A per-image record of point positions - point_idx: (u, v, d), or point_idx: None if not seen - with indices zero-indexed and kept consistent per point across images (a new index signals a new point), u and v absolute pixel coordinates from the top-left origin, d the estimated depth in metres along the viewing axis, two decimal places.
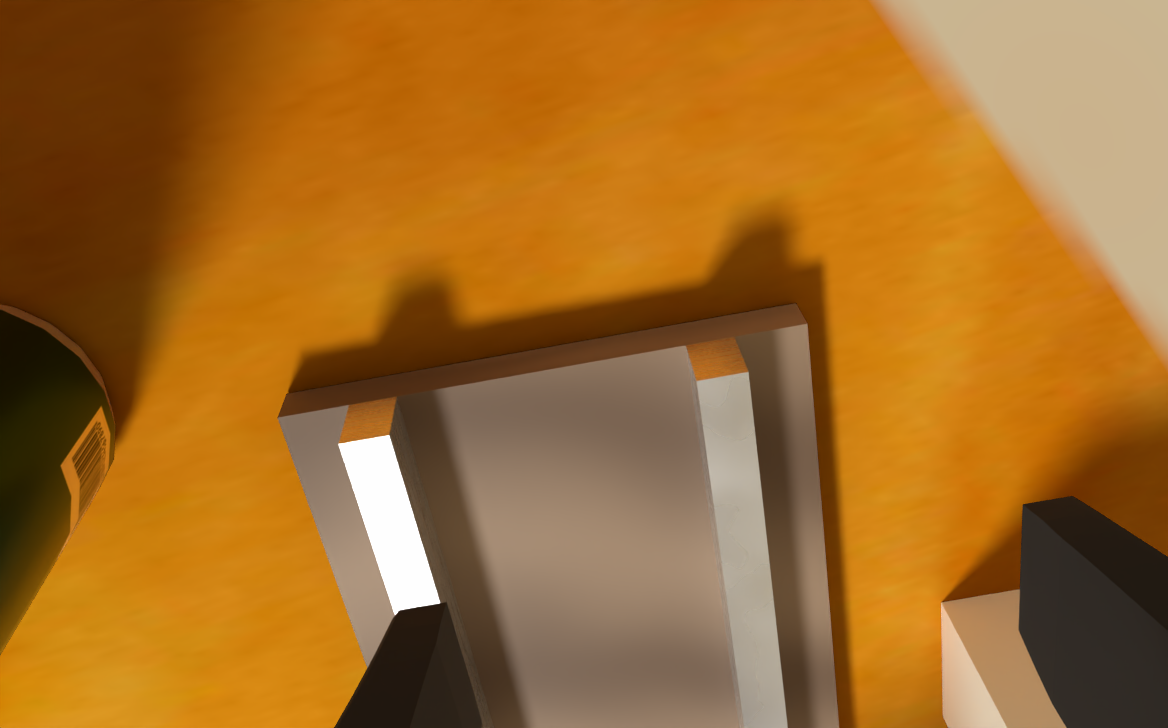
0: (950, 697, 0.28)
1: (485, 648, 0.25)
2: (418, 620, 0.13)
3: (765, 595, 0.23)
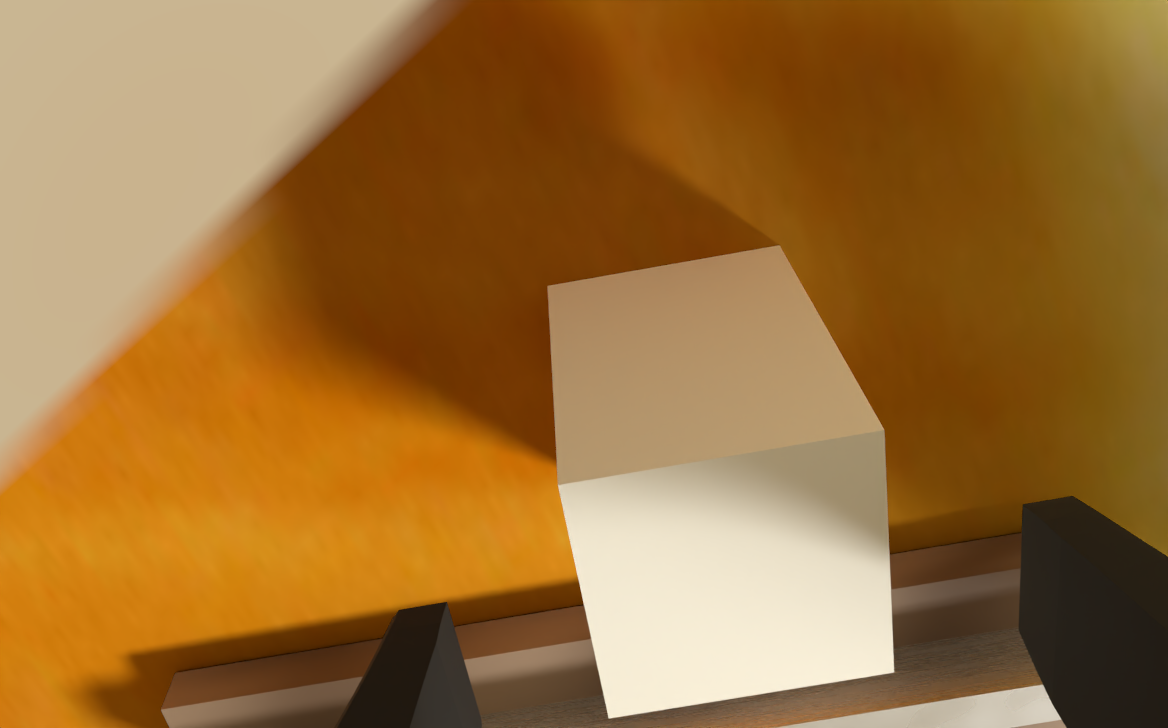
0: None
1: None
2: (419, 620, 0.13)
3: None
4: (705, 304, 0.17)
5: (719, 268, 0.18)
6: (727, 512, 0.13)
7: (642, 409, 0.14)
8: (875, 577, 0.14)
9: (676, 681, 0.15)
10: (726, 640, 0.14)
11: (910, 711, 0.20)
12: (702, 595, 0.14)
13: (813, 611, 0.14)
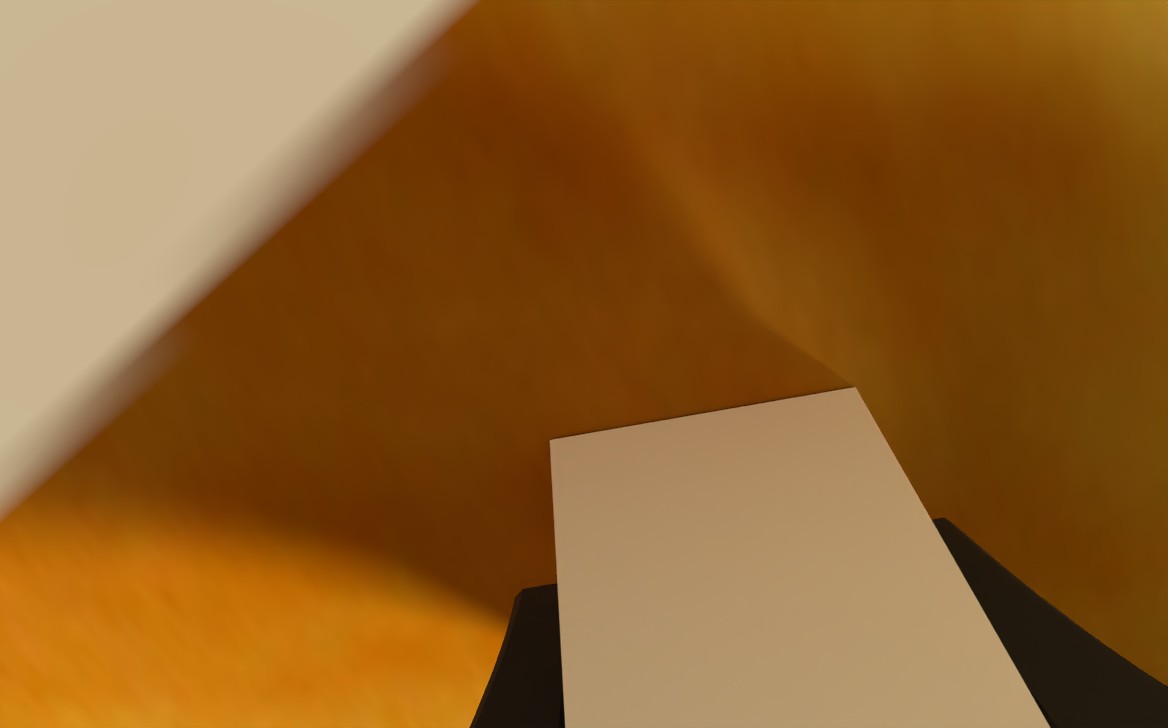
0: None
1: None
2: (546, 598, 0.13)
3: None
4: (765, 485, 0.12)
5: (778, 423, 0.13)
6: None
7: (690, 683, 0.10)
8: None
9: None
10: None
11: None
12: None
13: None
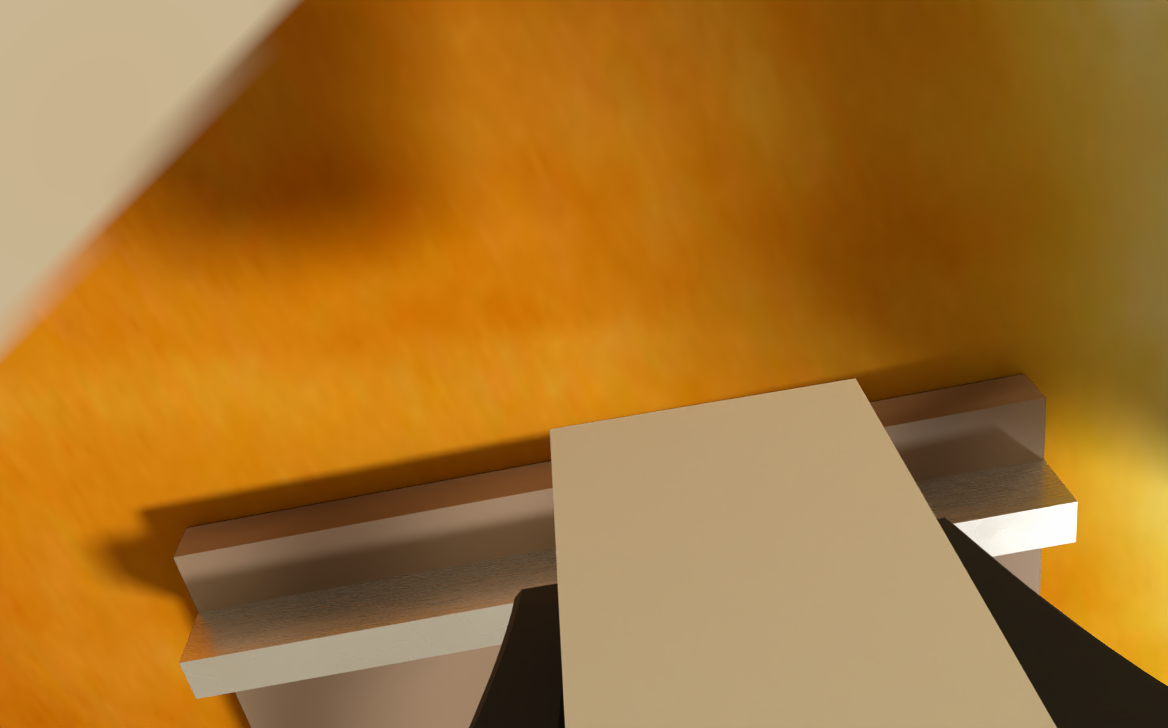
0: None
1: None
2: (546, 598, 0.13)
3: (453, 619, 0.21)
4: (765, 475, 0.12)
5: (778, 413, 0.13)
6: None
7: (690, 669, 0.10)
8: None
9: None
10: None
11: None
12: None
13: None
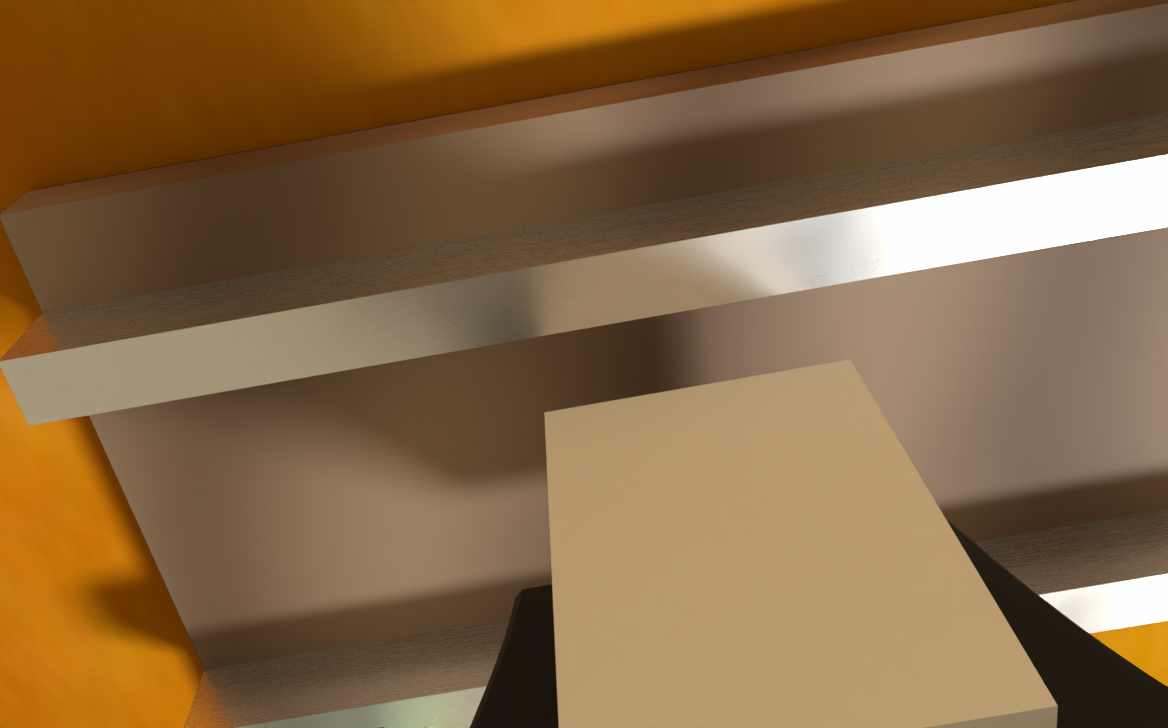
0: None
1: None
2: (547, 599, 0.13)
3: (416, 299, 0.14)
4: (759, 453, 0.12)
5: (772, 394, 0.13)
6: None
7: (683, 641, 0.10)
8: None
9: None
10: None
11: (1080, 179, 0.14)
12: None
13: None
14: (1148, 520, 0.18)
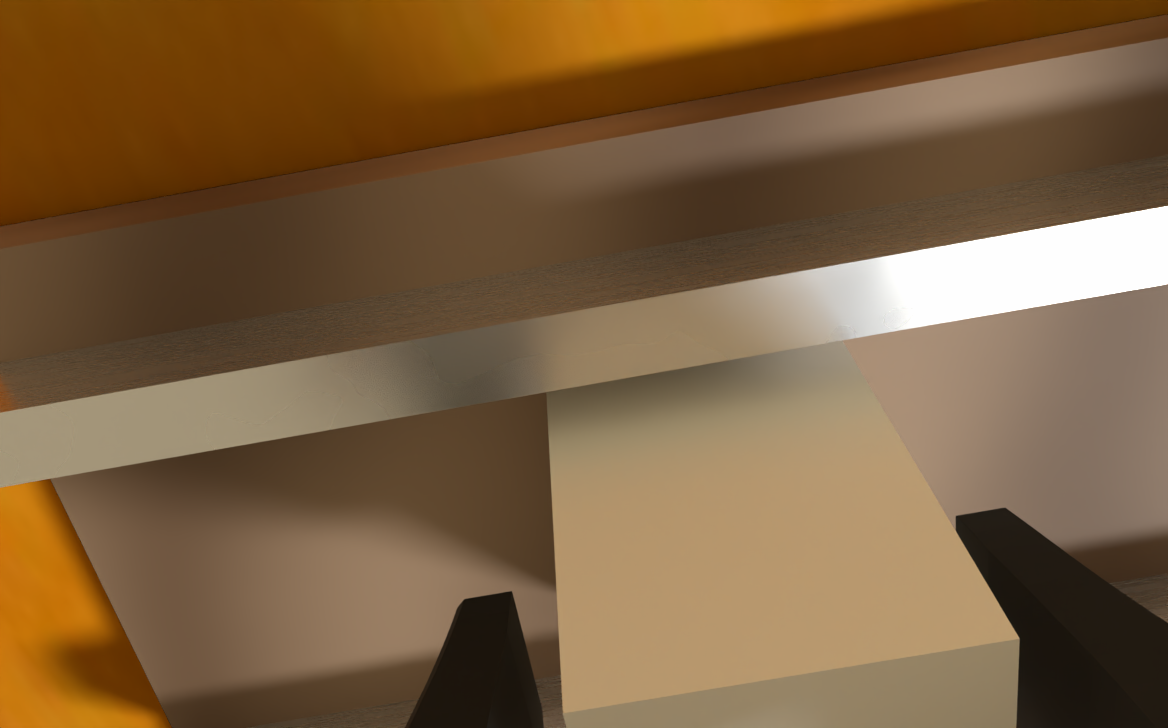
0: None
1: None
2: (486, 608, 0.13)
3: (402, 353, 0.13)
4: (749, 417, 0.13)
5: (763, 363, 0.14)
6: None
7: (676, 586, 0.11)
8: None
9: None
10: None
11: (1137, 222, 0.12)
12: None
13: None
14: None
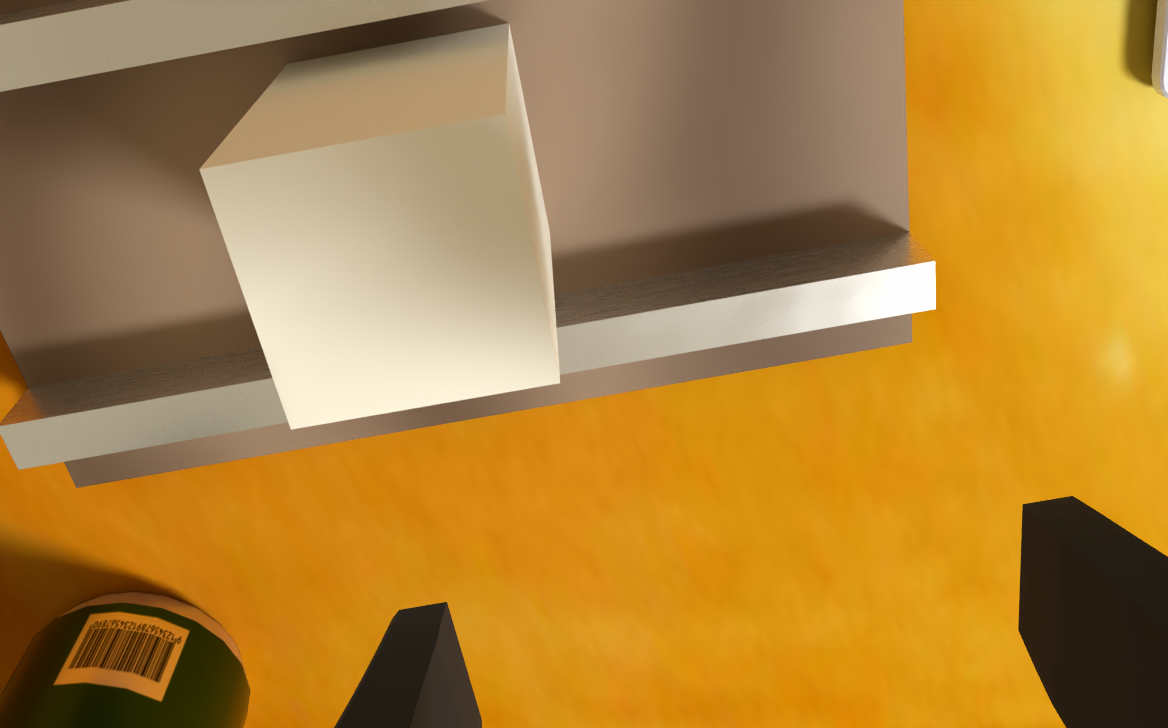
0: None
1: None
2: (419, 620, 0.13)
3: (151, 7, 0.17)
4: (415, 61, 0.17)
5: (445, 40, 0.19)
6: (368, 203, 0.14)
7: (308, 122, 0.15)
8: (524, 277, 0.15)
9: (350, 389, 0.15)
10: (390, 344, 0.15)
11: None
12: (358, 294, 0.15)
13: (470, 313, 0.15)
14: (827, 250, 0.21)
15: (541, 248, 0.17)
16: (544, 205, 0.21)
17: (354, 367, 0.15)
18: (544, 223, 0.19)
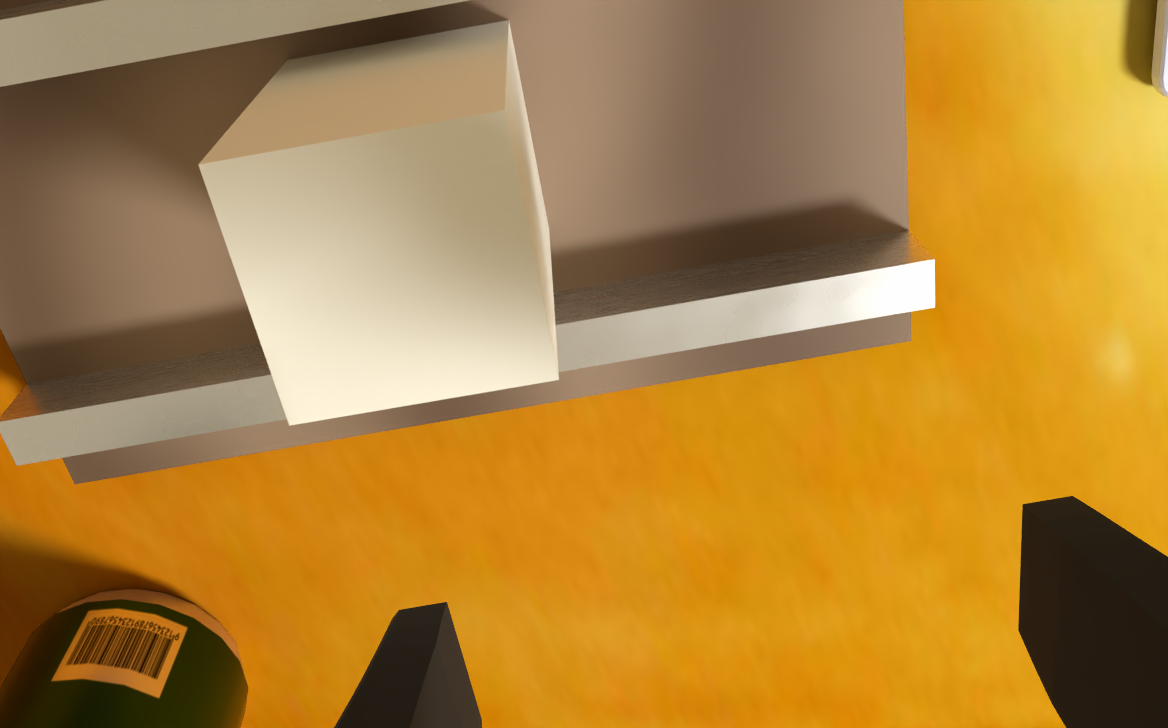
0: None
1: None
2: (419, 620, 0.13)
3: (150, 2, 0.17)
4: (414, 57, 0.17)
5: (445, 37, 0.19)
6: (367, 199, 0.14)
7: (307, 118, 0.15)
8: (523, 273, 0.15)
9: (348, 385, 0.15)
10: (390, 341, 0.15)
11: None
12: (358, 289, 0.15)
13: (469, 310, 0.15)
14: (826, 248, 0.21)
15: (540, 245, 0.17)
16: (543, 202, 0.21)
17: (353, 363, 0.15)
18: (543, 220, 0.19)
